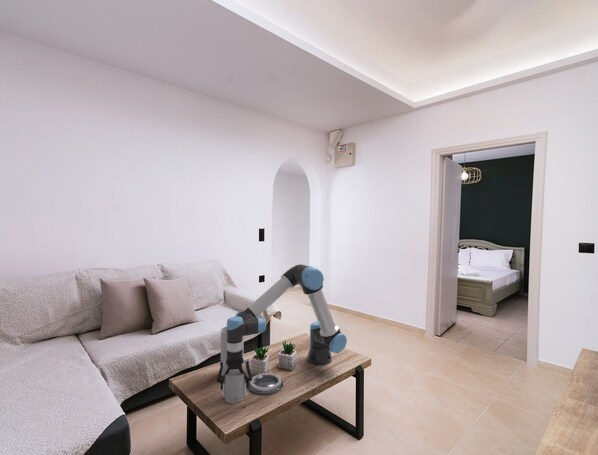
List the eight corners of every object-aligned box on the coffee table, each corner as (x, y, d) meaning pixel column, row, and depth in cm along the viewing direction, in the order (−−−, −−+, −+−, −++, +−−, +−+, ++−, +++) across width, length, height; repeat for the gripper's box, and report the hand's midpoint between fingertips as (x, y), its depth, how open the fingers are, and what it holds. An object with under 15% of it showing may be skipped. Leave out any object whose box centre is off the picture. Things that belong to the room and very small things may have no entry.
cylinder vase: (230, 381, 169) (230, 334, 169) (216, 374, 177) (216, 329, 176) (248, 372, 179) (248, 328, 179) (233, 366, 187) (233, 324, 186)
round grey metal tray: (282, 376, 175) (282, 371, 175) (283, 393, 157) (283, 388, 157) (249, 377, 173) (249, 373, 173) (247, 395, 155) (247, 390, 155)
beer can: (221, 402, 150) (221, 376, 149) (228, 391, 159) (228, 367, 159) (241, 403, 148) (241, 378, 148) (247, 392, 158) (247, 368, 158)
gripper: (209, 353, 148) (210, 400, 149) (257, 352, 151) (257, 398, 151) (212, 347, 156) (212, 392, 156) (258, 345, 158) (257, 389, 159)
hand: (234, 395), depth 154 cm, fingers closed on beer can, 9 cm apart
